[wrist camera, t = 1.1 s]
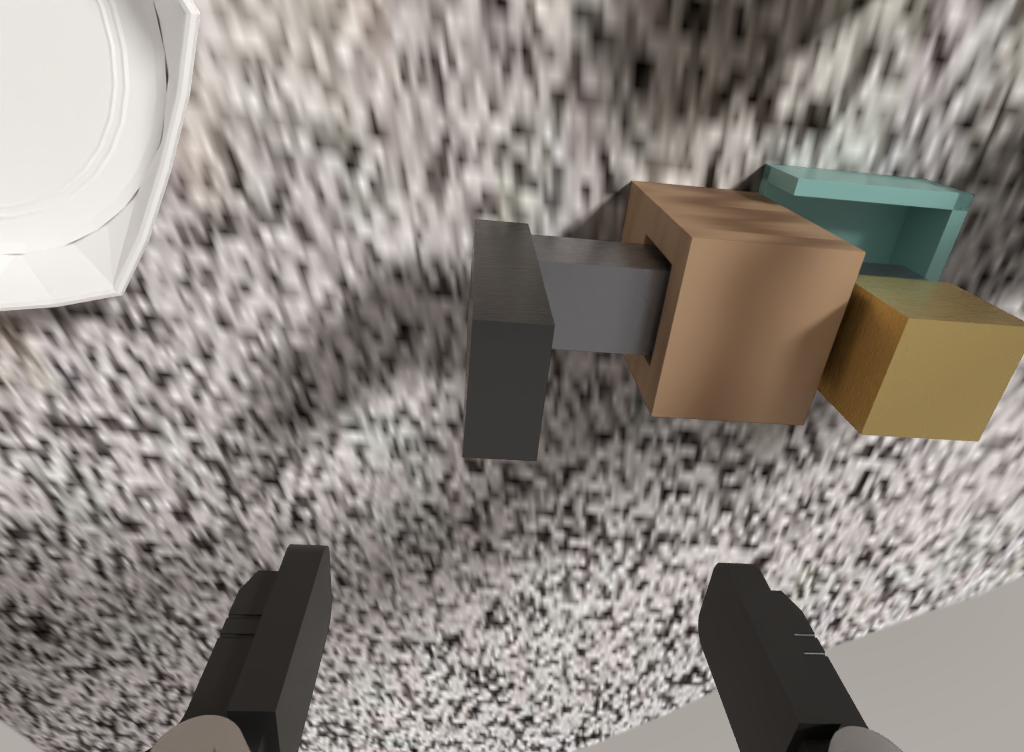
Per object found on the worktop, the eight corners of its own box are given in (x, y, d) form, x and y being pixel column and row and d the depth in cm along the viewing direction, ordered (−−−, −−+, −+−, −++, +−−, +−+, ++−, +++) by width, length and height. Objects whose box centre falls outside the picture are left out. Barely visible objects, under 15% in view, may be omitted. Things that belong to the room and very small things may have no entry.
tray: (924, 178, 35) (975, 194, 31) (855, 359, 40) (891, 390, 36) (765, 163, 34) (798, 178, 31) (715, 350, 39) (738, 381, 36)
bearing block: (757, 192, 35) (865, 252, 25) (721, 327, 38) (803, 425, 29) (631, 180, 34) (692, 237, 24) (607, 319, 38) (651, 416, 28)
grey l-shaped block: (905, 255, 32) (1121, 365, 21) (869, 347, 34) (1048, 488, 23) (474, 219, 30) (472, 319, 19) (467, 318, 32) (462, 456, 21)
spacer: (948, 282, 28) (1036, 327, 24) (905, 382, 30) (978, 441, 26) (840, 273, 28) (908, 318, 23) (804, 375, 30) (860, 434, 25)
